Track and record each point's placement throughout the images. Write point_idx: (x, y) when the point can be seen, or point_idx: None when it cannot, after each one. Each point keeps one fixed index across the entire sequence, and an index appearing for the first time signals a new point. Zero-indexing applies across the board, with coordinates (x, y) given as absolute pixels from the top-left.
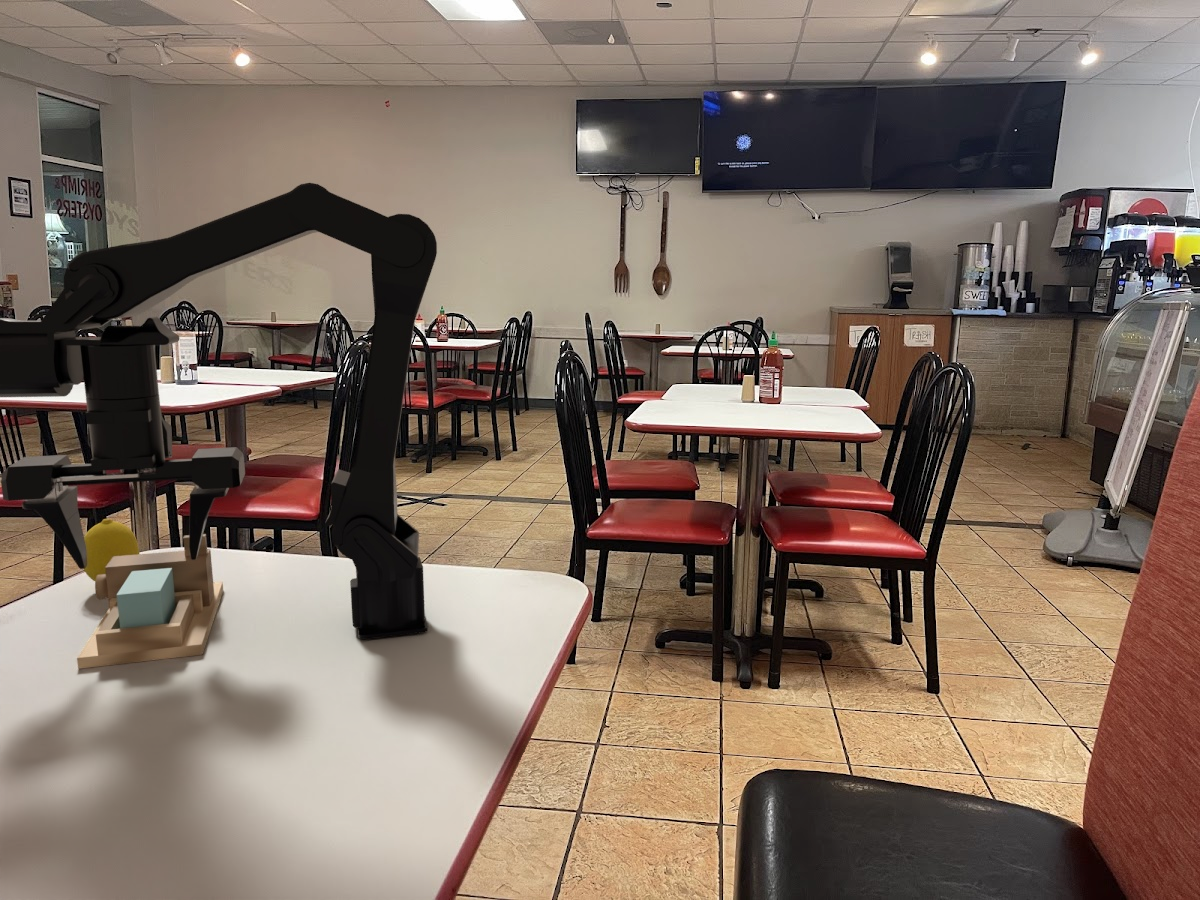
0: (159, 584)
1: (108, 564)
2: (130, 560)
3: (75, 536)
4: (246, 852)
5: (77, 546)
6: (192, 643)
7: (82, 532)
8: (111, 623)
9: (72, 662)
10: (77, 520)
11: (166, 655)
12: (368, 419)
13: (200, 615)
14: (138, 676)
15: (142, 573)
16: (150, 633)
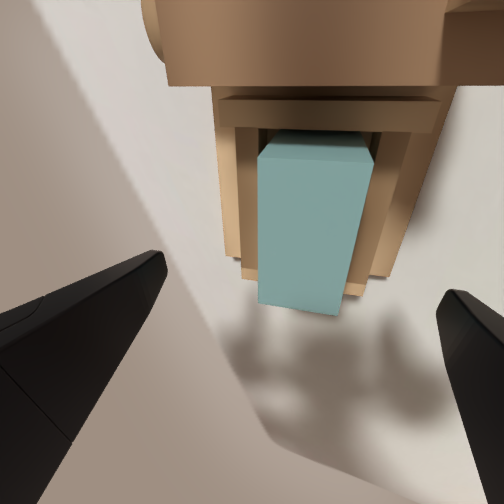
0: (336, 283)
1: (166, 50)
2: (226, 12)
3: (110, 361)
4: (373, 472)
5: (133, 338)
6: (376, 269)
7: (92, 303)
8: (254, 248)
9: (216, 225)
10: (52, 356)
11: None
12: None
13: (410, 143)
14: None
15: (289, 188)
16: None
